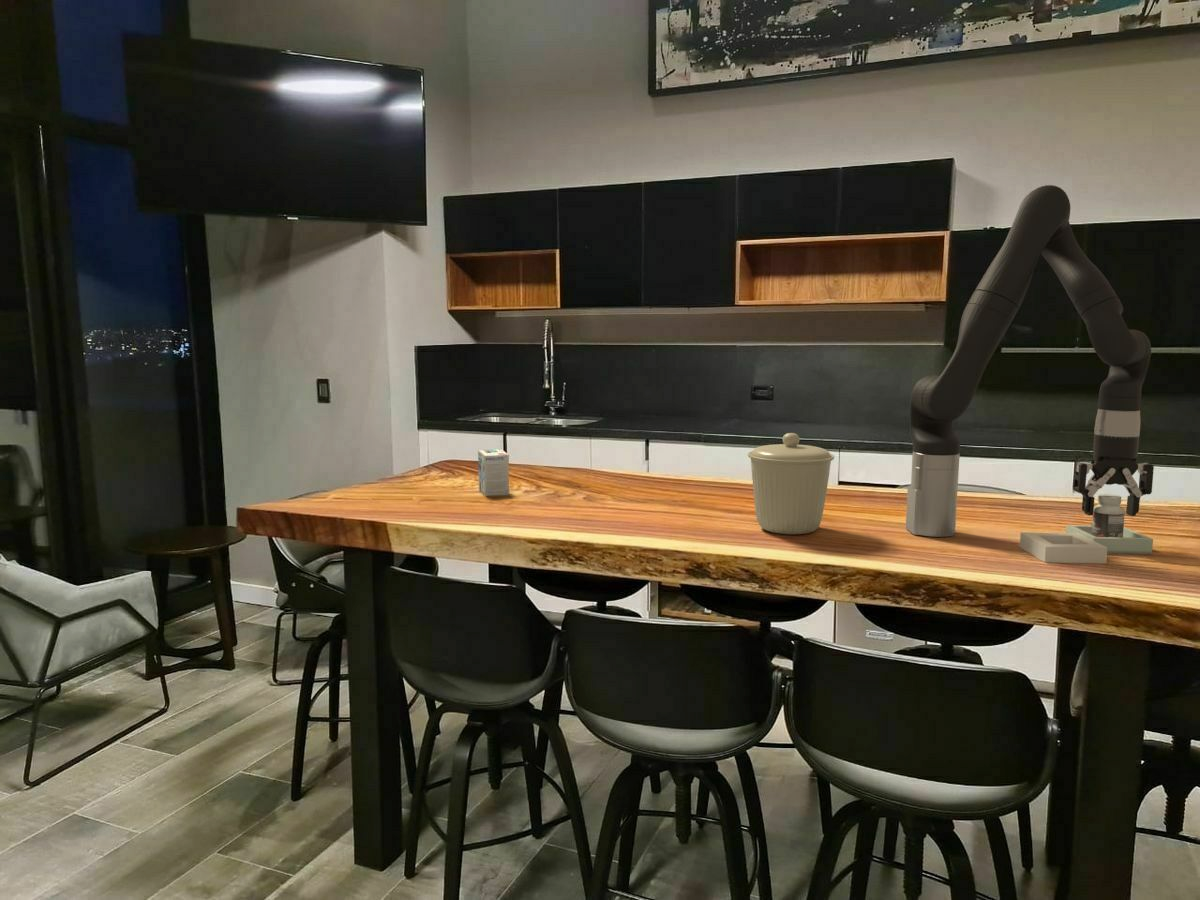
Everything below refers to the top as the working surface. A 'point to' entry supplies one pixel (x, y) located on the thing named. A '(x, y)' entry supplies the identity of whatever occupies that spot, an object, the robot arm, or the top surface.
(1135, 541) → the parts tray
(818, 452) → the canister
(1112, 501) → the pill bottle
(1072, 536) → the socket block
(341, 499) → the top surface
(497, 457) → the light bulb box
